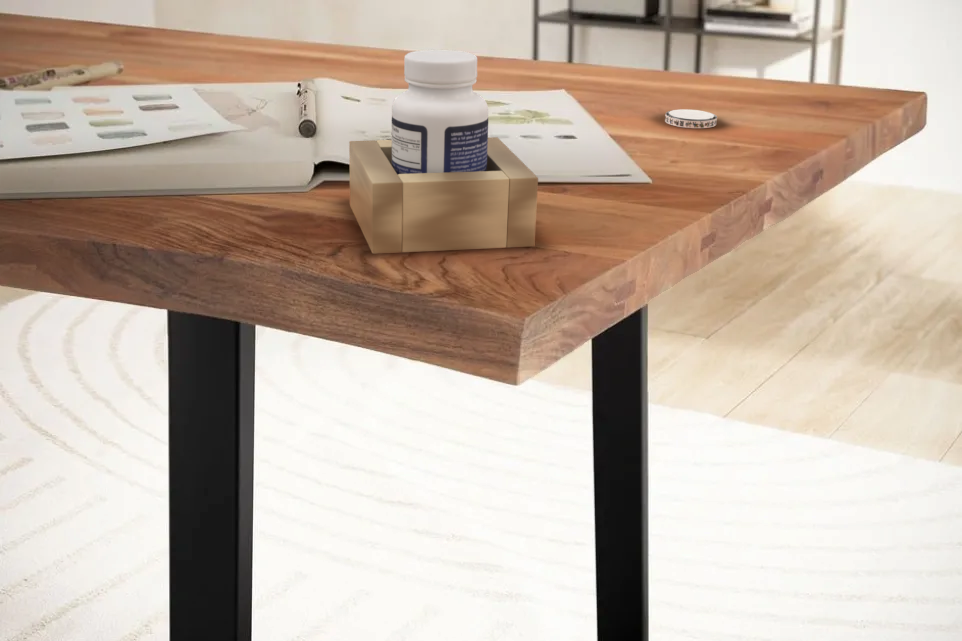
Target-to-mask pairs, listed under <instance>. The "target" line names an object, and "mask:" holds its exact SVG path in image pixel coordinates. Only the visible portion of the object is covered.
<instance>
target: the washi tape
mask: <svg viewBox="0 0 962 641" xmlns="http://www.w3.org/2000/svg"><path fill="white" fill-rule="evenodd" d="M664 116H665V118H664V122H665V123H666V124H668V125H671V126H674V127H678V128H684V129H685V128H686V129H709V128H713V127H715V126H717V121H718V116H717V115H716V114H714V113H712V112H710V111H705V110H699V109H689V108H688V109H687V108H685V109H682V108H681V109H672V110H669V111H666V112H665V115H664Z"/></svg>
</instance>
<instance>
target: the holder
mask: <svg viewBox="0 0 962 641" xmlns="http://www.w3.org/2000/svg"><path fill="white" fill-rule="evenodd" d="M348 144H349V145H348V146H349V147H348V149H349V150H348V151H349V152H348V153H349V154H348V156H349V159H348V160H349V164H348V165H349V206H350V209H351V210H352V213H353V216H354V217H355V219H356V221H357V223H358V226H359V228H360V230H361V232H362V234H363V236H364V237H363V238H364V239H365V241H366V243H367V245H368V248H369V249H370V252H371V254H393V253H394V254H395V253H415V252H437V251H438V252H439V251H458V250H459V251H461V250H480V249H481V250H482V249H502V248H504V249H505V248H525V247H526V248H527V247H535V246H536V245H535V244H536V242H535V241H536V225H537V207H538V206H537V205H538V190H539V188H538V187H539V177H538V175H536V174H535V173H534V172H533V171H532V170H531V169H530V168H529V167H528V166H527V165H526V164H525V163H524V162H523V161H522V160H521V159H520V158H519V157H518V156H517V155H516V154H515V153H514V152H513V150H511V149H510V148H509V147H508V146H507V145H506V144H505V143H504V142H503V141H502V140H501V139H500V138H499V137H497V136H495V137H494V136H493V137H492V136H491V137H489V136H488V146H487V171H478V172H446V173H414V174H398V175H397V173H396V172H395V170H394V168H393V167H392V139H377V140H373V139H372V140H350V141H349V143H348Z"/></svg>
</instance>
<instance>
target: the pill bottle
mask: <svg viewBox="0 0 962 641" xmlns="http://www.w3.org/2000/svg"><path fill="white" fill-rule="evenodd" d="M403 62H404V66H403V67H404V68H403V76H404V82H405V83H407V84H408V89H407V90H405V91H403V92H400V93H399V94H398V95H397V96H396V97H395V99H394V100H393V102H392V104H391V140H392V167H393V168H394V170H395V172H396V173H397V175H398V174H414V173H446V172H478V171H487V146H488V137H489V106H488V102H487V101H486V99H485V98H484V97H483V96H481V95H480V94H479V93H477V92H475V91H474V90H473V85H475V84H477V81H478V80H477V78H478V56H477V55H475V53H471V52H468V51H464V50H456V49H455V50H454V49H421V50H414V51H410V52H408V53H406V54H404V60H403Z"/></svg>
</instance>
